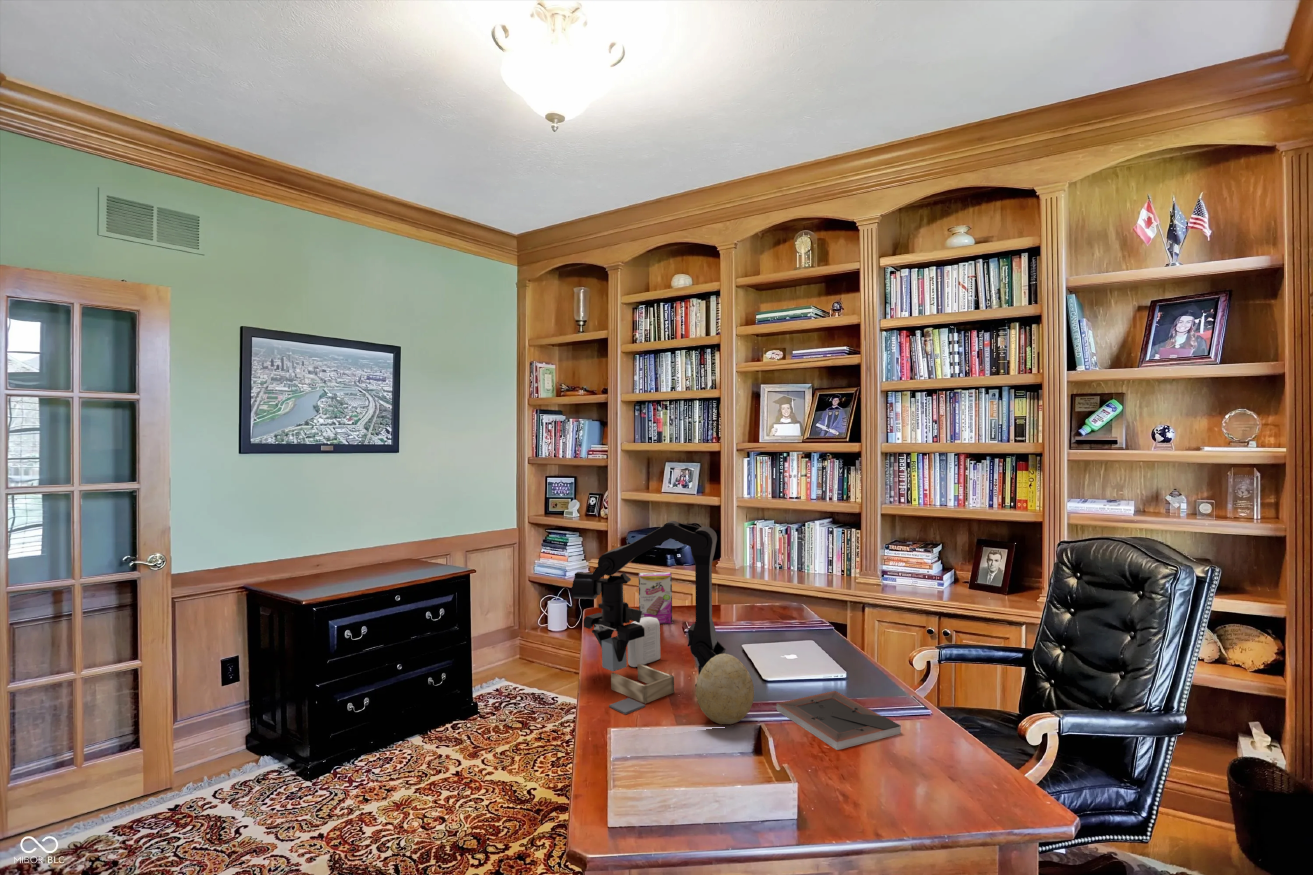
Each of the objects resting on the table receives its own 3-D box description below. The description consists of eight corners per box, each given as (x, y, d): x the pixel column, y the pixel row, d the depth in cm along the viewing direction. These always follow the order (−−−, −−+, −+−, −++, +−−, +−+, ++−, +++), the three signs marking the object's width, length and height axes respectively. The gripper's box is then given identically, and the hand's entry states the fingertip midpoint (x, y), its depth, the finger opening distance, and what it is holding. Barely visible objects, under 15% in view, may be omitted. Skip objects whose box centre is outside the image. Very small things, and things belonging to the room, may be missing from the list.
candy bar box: (639, 625, 227) (637, 575, 227) (639, 621, 232) (638, 572, 232) (673, 624, 227) (671, 574, 227) (672, 619, 232) (671, 571, 232)
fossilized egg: (687, 716, 156) (686, 650, 155) (737, 706, 160) (736, 642, 160) (712, 739, 144) (710, 668, 143) (765, 728, 148) (763, 659, 148)
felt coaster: (645, 706, 161) (645, 704, 161) (625, 714, 157) (625, 712, 157) (628, 699, 166) (628, 697, 166) (609, 707, 162) (609, 705, 162)
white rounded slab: (652, 655, 197) (651, 612, 197) (663, 659, 194) (661, 615, 194) (625, 665, 190) (624, 620, 189) (635, 668, 187) (634, 623, 186)
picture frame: (900, 736, 144) (835, 700, 164) (900, 725, 144) (835, 689, 164) (836, 753, 138) (776, 713, 157) (836, 741, 138) (776, 702, 157)
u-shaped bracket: (674, 692, 170) (673, 676, 169) (645, 703, 163) (644, 686, 163) (640, 679, 179) (639, 663, 179) (611, 689, 173) (610, 673, 172)
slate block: (626, 667, 179) (625, 640, 179) (613, 671, 176) (612, 644, 176) (615, 662, 182) (615, 636, 182) (602, 667, 179) (601, 640, 179)
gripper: (659, 599, 177) (661, 659, 177) (614, 588, 191) (615, 644, 191) (626, 608, 170) (628, 671, 170) (581, 595, 183) (583, 653, 184)
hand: (614, 659), depth 179 cm, fingers closed on slate block, 4 cm apart
